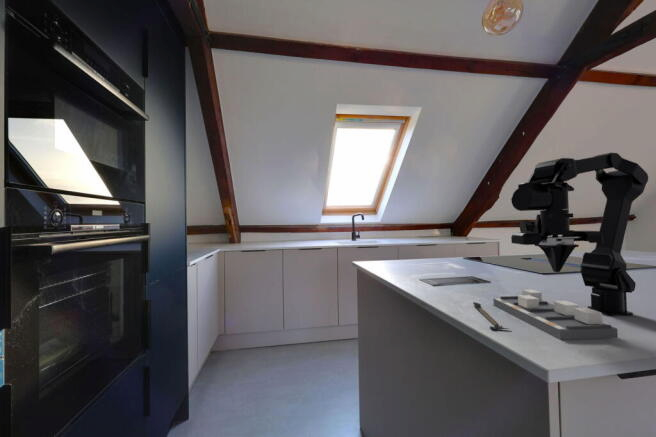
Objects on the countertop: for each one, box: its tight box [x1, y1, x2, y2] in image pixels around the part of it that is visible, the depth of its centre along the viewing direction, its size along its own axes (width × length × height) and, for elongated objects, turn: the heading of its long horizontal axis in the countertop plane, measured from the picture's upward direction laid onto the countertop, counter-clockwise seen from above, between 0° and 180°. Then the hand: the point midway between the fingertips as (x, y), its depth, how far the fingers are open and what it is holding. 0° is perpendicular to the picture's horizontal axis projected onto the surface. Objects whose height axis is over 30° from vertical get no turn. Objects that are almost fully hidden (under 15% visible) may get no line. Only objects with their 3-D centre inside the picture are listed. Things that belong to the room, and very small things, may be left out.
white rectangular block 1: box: [521, 289, 543, 301], centre depth 83 cm, size 3×4×2 cm
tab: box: [517, 294, 539, 308], centre depth 77 cm, size 3×4×2 cm
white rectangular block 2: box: [553, 300, 580, 315], centre depth 71 cm, size 3×4×2 cm
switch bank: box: [492, 295, 619, 341], centre depth 74 cm, size 12×25×3 cm, turn 0°
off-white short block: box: [574, 307, 603, 324], centre depth 65 cm, size 3×4×2 cm
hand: (556, 271), depth 73 cm, fingers closed
